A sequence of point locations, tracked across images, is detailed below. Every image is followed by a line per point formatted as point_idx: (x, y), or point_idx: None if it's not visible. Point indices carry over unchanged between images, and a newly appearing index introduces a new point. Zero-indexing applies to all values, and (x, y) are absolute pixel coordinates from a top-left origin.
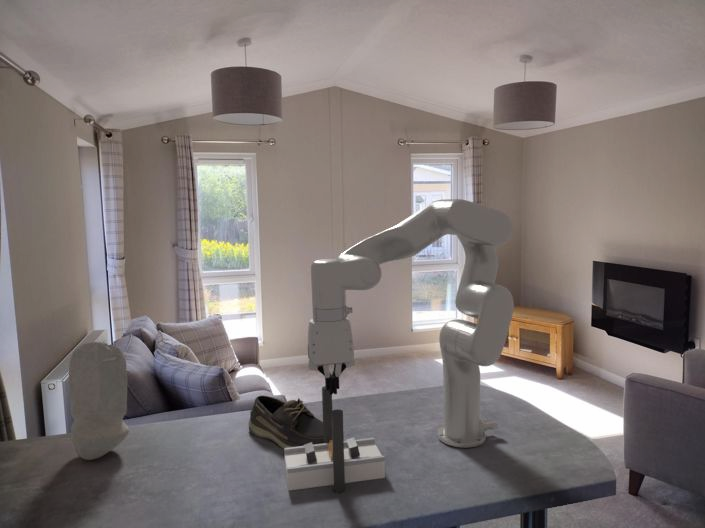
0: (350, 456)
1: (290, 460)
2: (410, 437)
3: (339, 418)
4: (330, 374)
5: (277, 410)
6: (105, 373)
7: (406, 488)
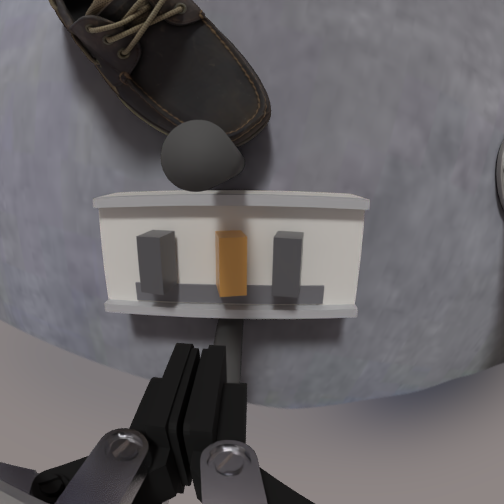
0: None
1: (112, 247)
2: (453, 130)
3: None
4: (170, 495)
5: (73, 25)
6: None
7: (365, 338)
